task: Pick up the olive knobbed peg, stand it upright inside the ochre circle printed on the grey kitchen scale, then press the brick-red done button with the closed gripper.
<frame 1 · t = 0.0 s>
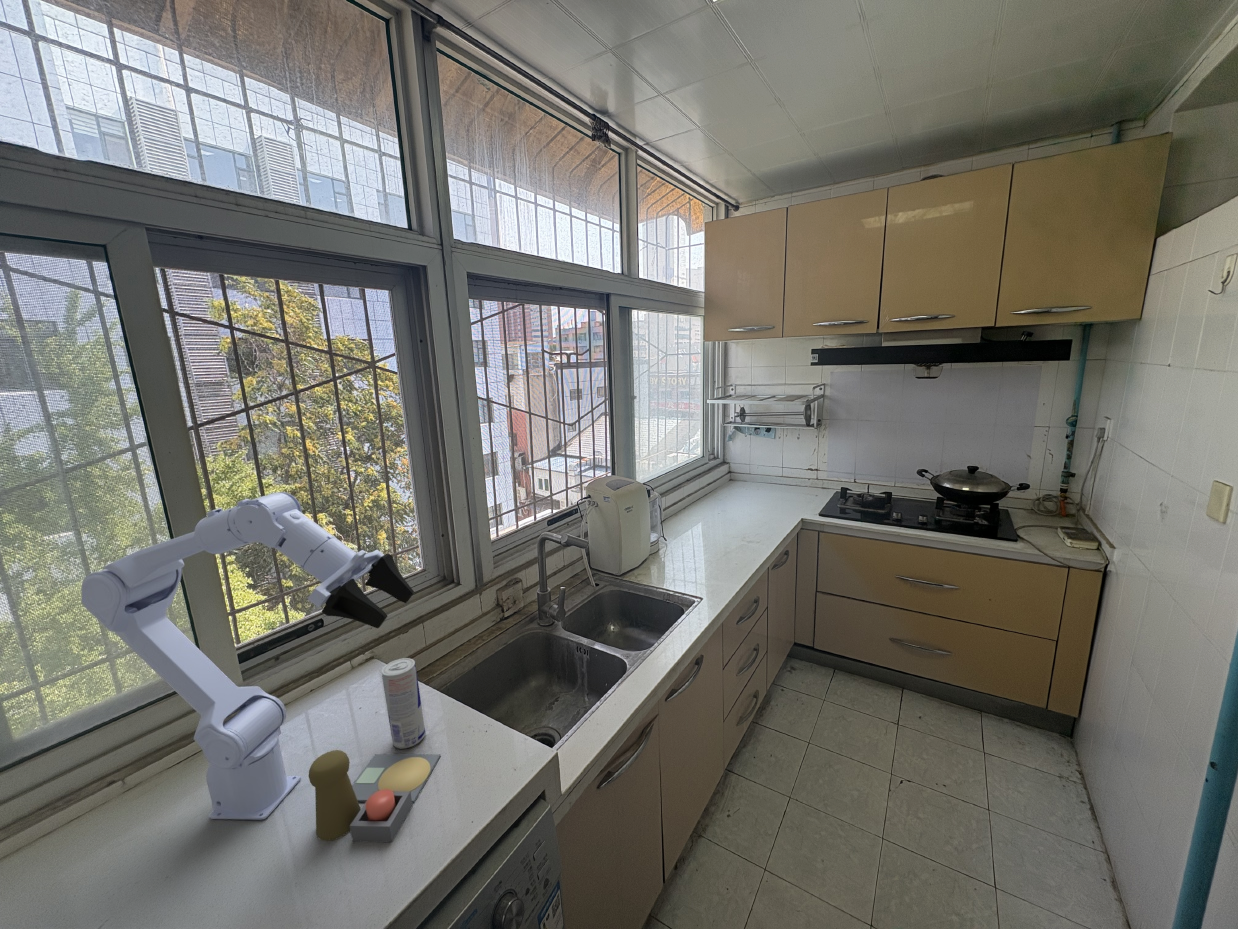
hand: (397, 609, 71), 32 cm above the worktop, tool tilted 50°, fingers open, 7 cm apart
olive knobbed peg: (339, 823, 73), on the worktop
beverage can: (409, 740, 90), on the worktop
grey kitchen scale: (393, 778, 81), on the worktop
done button: (380, 806, 72), point 3 cm above the worktop, slide at 0.0 cm
button housing: (383, 822, 73), on the worktop
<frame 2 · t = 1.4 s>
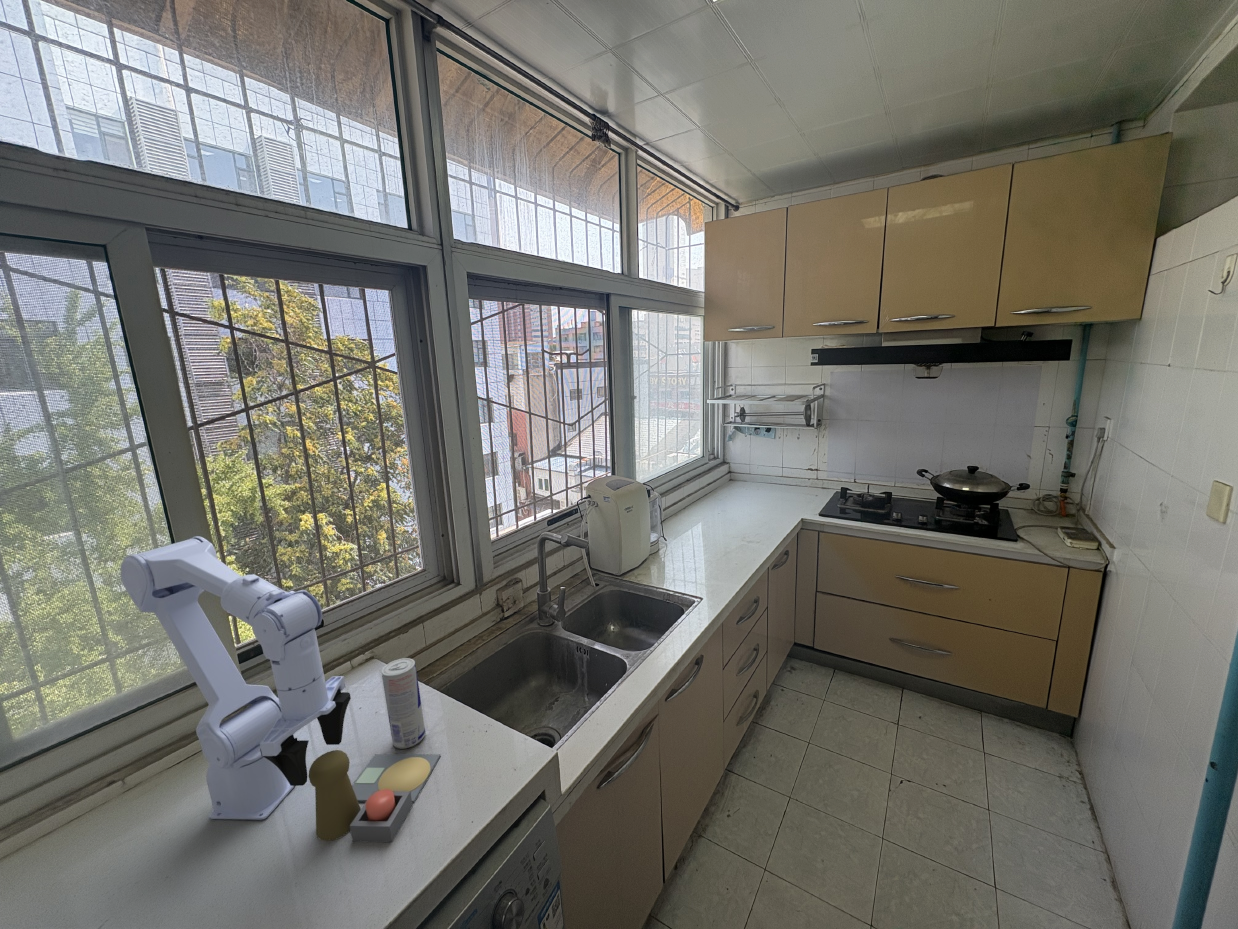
hand: (317, 762, 72), 10 cm above the worktop, tool pointing down, fingers open, 7 cm apart
nothing on the worktop moved.
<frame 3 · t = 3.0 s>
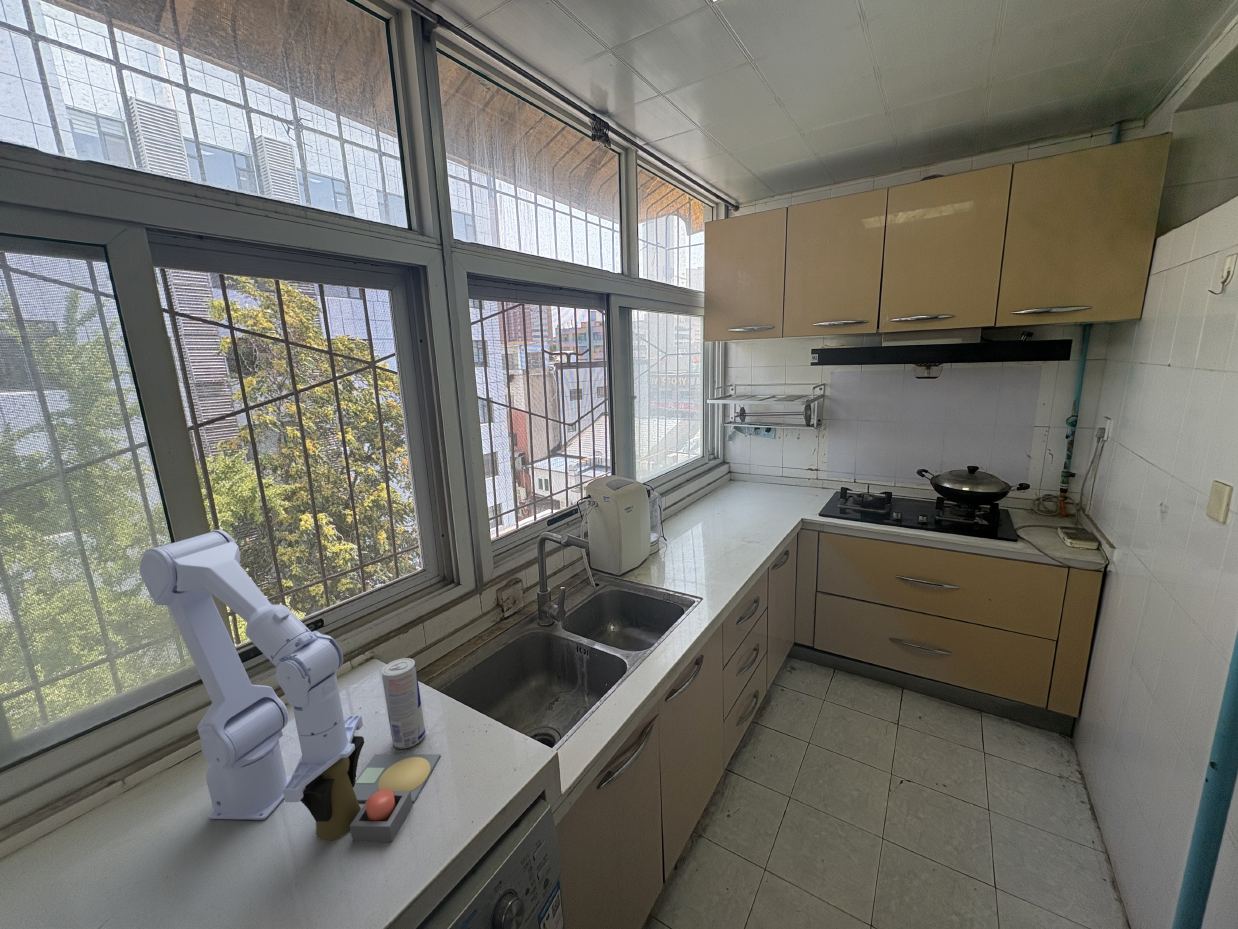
hand: (335, 802, 73), 3 cm above the worktop, tool pointing down, fingers closed on olive knobbed peg, 5 cm apart
olive knobbed peg: (339, 823, 73), on the worktop, touching gripper
everything else where it was.
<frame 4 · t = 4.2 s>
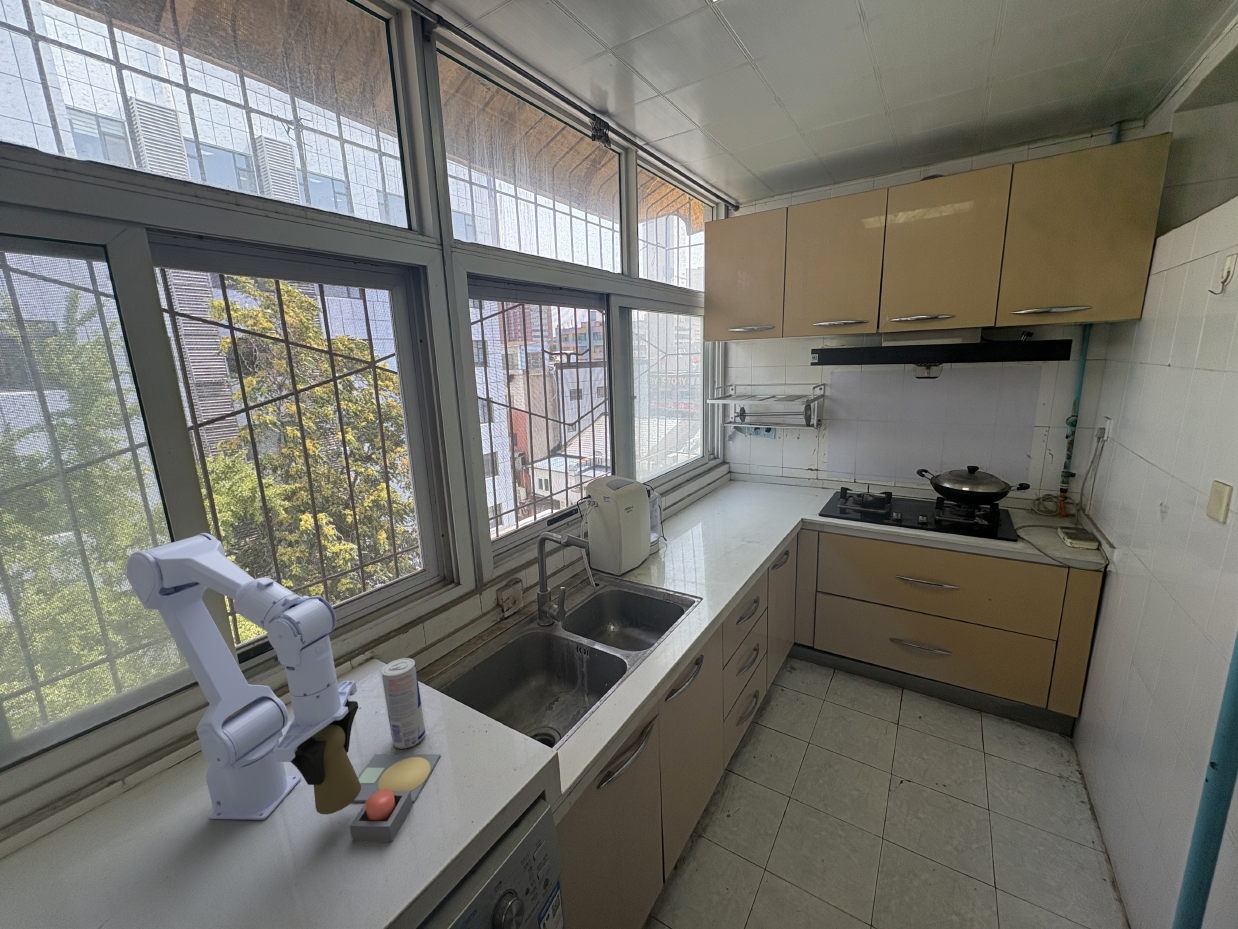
hand: (328, 767, 72), 10 cm above the worktop, tool pointing down, fingers closed on olive knobbed peg, 5 cm apart
olive knobbed peg: (339, 797, 73), point 4 cm above the worktop, touching gripper
everything else where it was.
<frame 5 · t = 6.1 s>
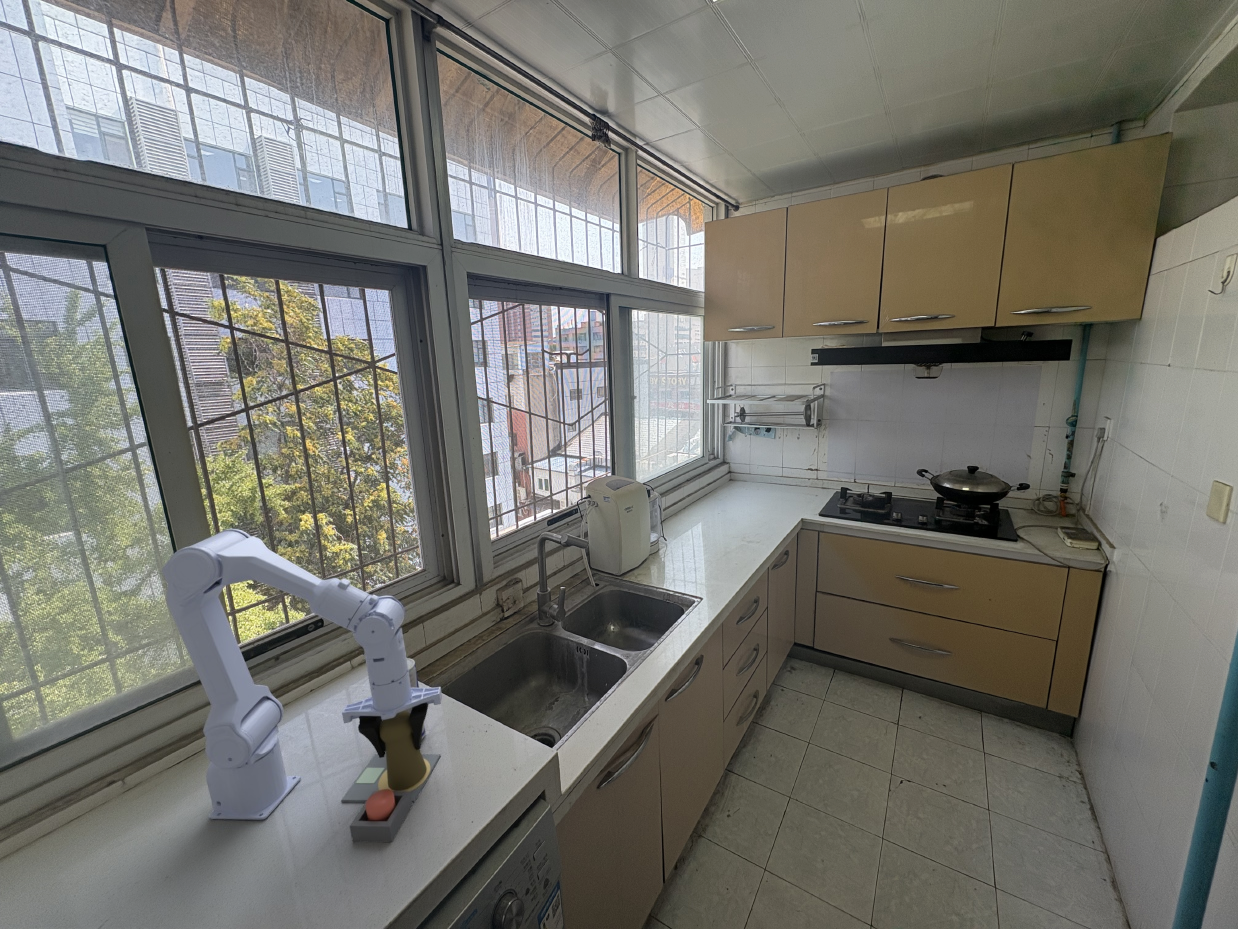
hand: (400, 749, 80), 5 cm above the worktop, tool pointing down, fingers closed on olive knobbed peg, 5 cm apart
olive knobbed peg: (407, 776, 81), resting on grey kitchen scale, touching gripper
everything else where it was.
when the fingers open (5 cm above the worktop, at t = 6.5 s): olive knobbed peg stays where it is, resting on grey kitchen scale.
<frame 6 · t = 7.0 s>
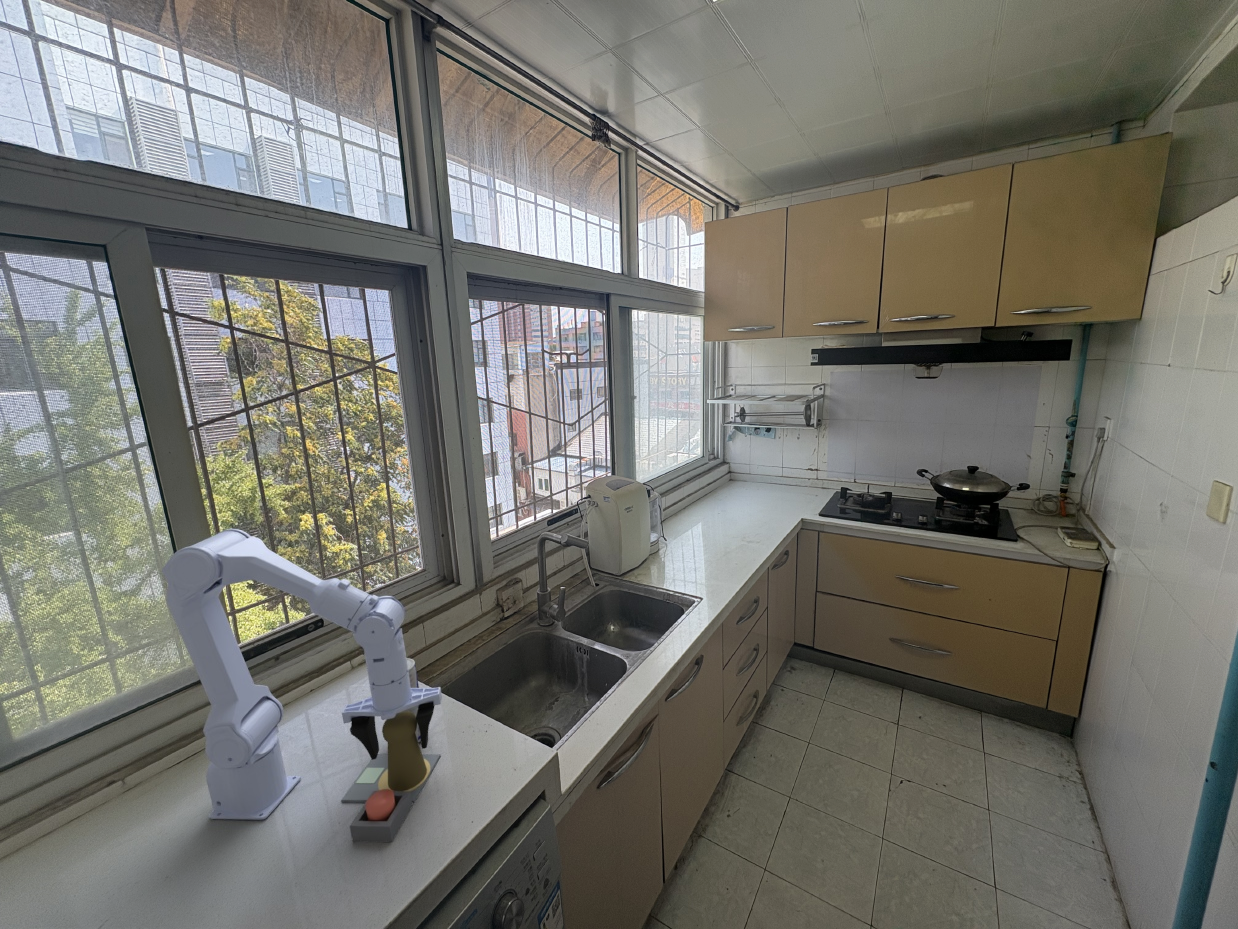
hand: (400, 749, 80), 5 cm above the worktop, tool pointing down, fingers open, 7 cm apart
olive knobbed peg: (407, 777, 81), resting on grey kitchen scale
everything else where it was.
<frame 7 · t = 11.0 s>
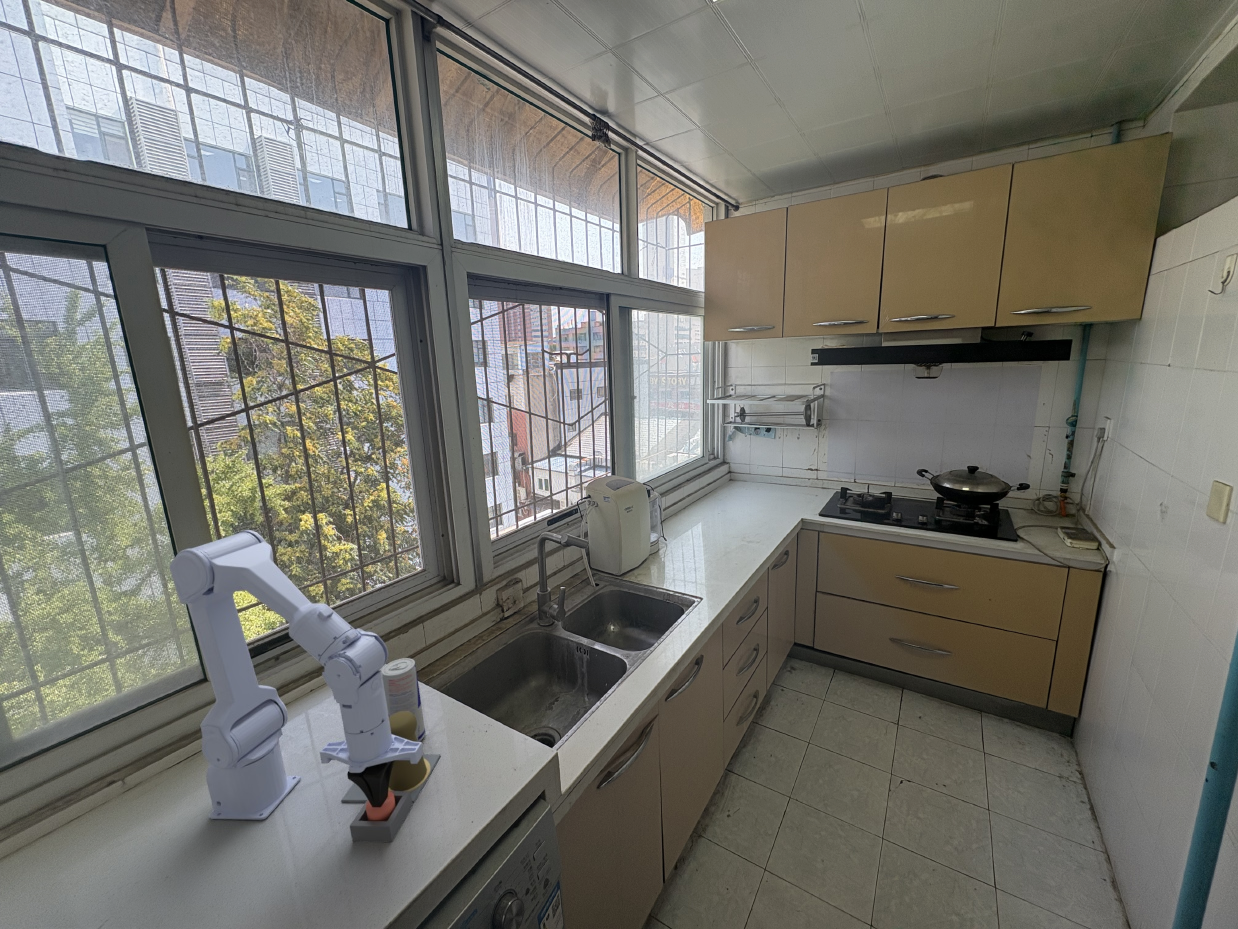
hand: (380, 801, 72), 4 cm above the worktop, tool pointing down, fingers closed, pressing on done button
done button: (381, 808, 72), point 3 cm above the worktop, slide at -0.3 cm, touching gripper
everything else where it was.
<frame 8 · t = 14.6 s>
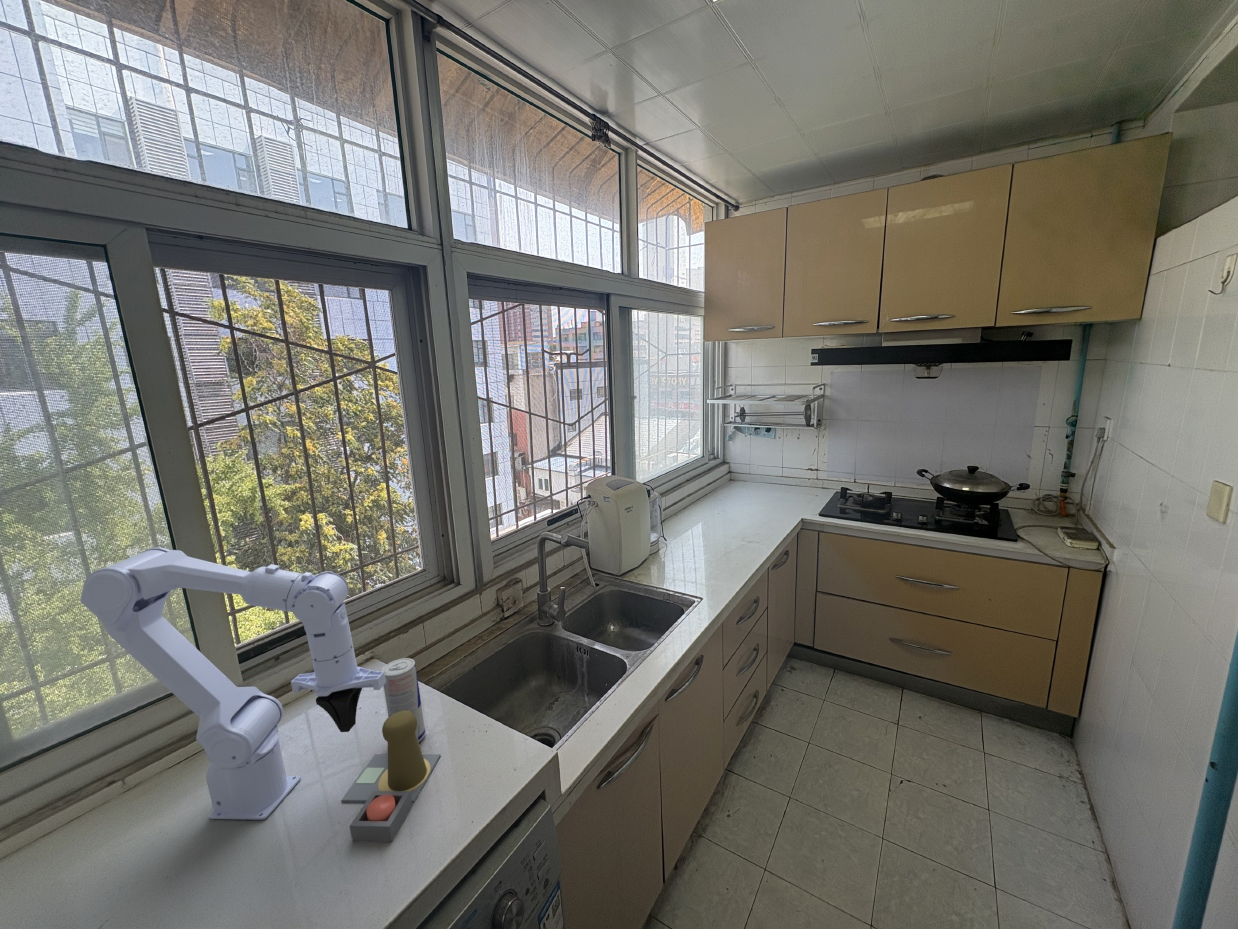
hand: (348, 727, 79), 10 cm above the worktop, tool pointing down, fingers closed
done button: (381, 812, 73), point 2 cm above the worktop, slide at -0.9 cm
everything else where it was.
at the end: olive knobbed peg 0.6 cm from the target spot, resting on grey kitchen scale; olive knobbed peg tilted 0°; done button slide at -0.9 cm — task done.
